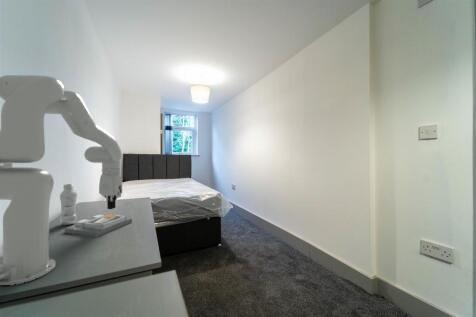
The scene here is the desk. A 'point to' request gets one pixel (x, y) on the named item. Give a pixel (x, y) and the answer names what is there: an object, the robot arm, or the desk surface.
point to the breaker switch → (106, 219)
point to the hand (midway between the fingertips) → (111, 208)
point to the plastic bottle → (68, 205)
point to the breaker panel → (97, 226)
